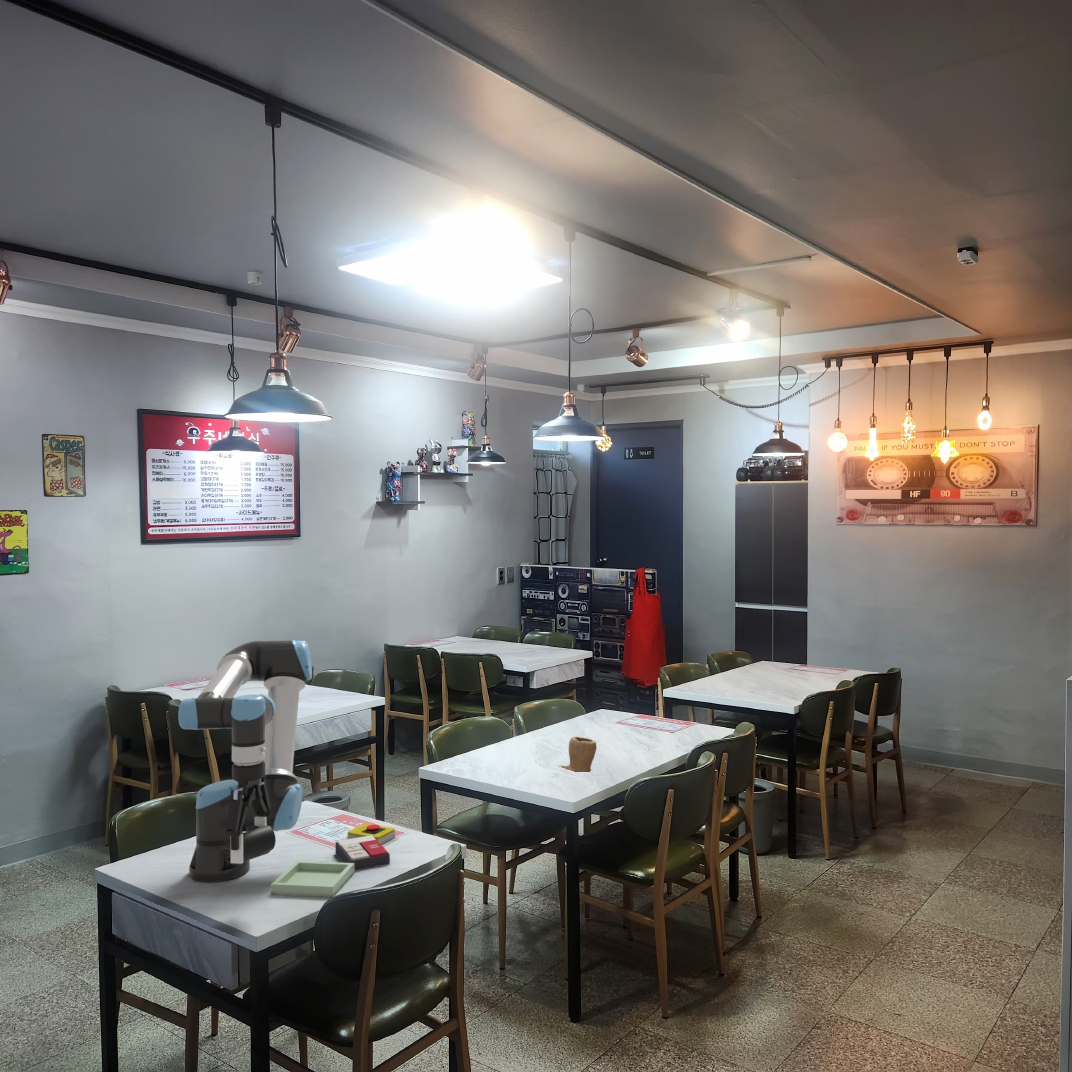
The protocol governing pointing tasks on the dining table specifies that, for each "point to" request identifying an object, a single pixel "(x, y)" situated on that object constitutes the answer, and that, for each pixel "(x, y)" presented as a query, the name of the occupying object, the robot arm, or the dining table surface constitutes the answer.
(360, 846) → the button switch box
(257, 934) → the dining table surface
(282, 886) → the sage tray
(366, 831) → the emergency button
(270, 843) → the end cap
